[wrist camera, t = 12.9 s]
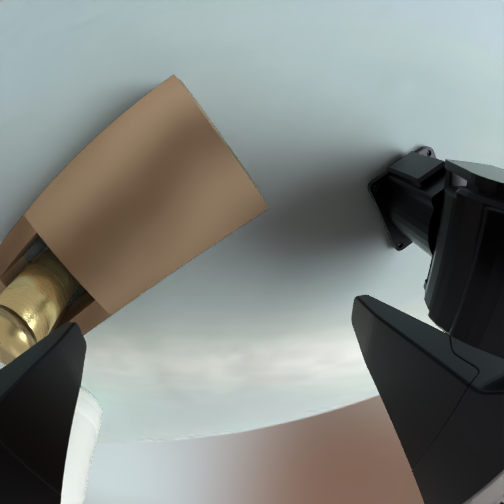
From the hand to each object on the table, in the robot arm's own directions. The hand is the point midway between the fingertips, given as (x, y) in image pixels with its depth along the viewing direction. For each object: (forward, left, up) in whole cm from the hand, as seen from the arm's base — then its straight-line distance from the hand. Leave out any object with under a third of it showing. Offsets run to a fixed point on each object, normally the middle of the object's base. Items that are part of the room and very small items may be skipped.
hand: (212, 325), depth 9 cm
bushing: (+3, +12, -13) cm, 18 cm away
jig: (+3, +7, -13) cm, 15 cm away
